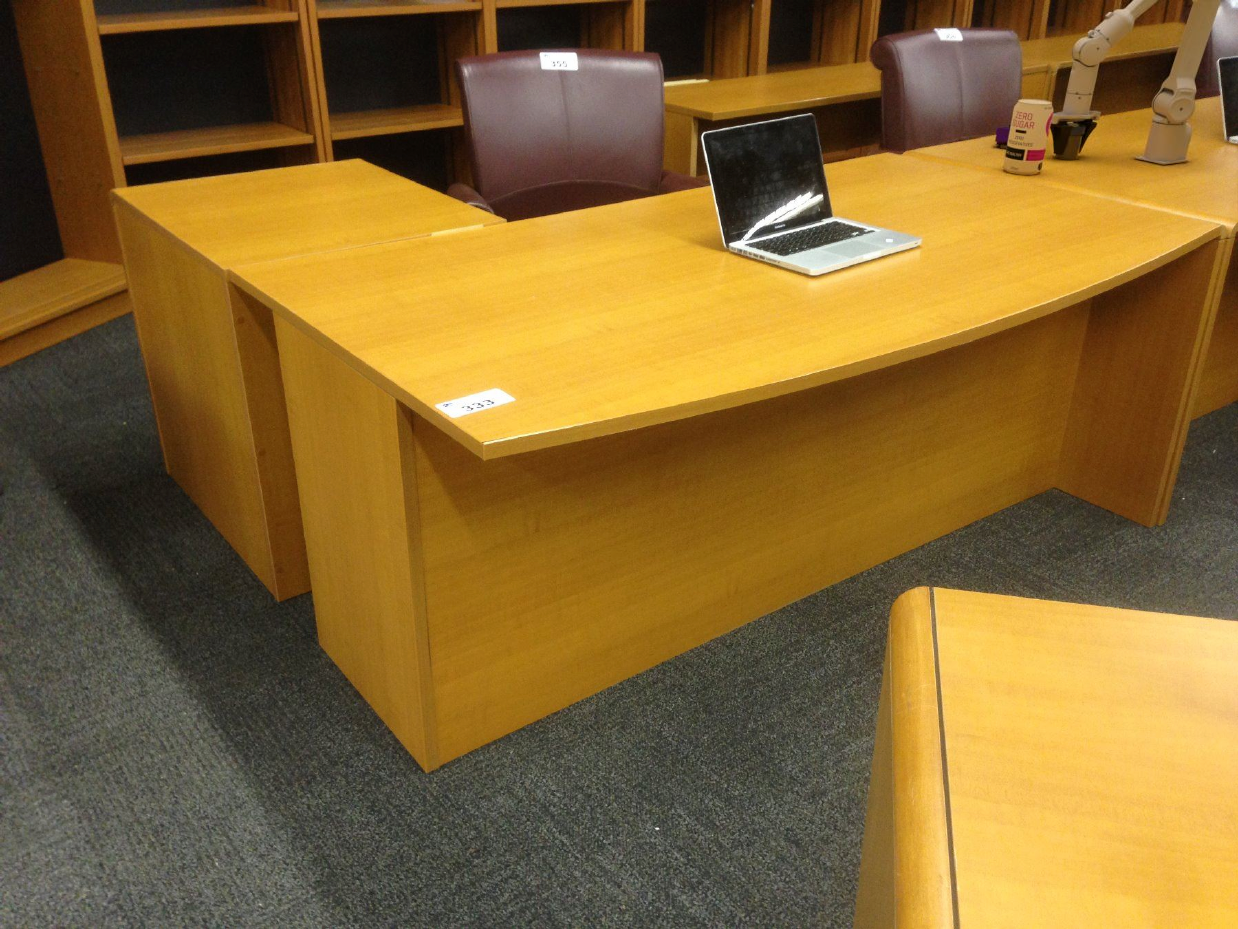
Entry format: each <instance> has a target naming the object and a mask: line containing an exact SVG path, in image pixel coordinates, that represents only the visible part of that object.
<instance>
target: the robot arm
mask: <svg viewBox="0 0 1238 929" xmlns="http://www.w3.org/2000/svg"><path fill="white" fill-rule="evenodd" d="M1191 1H1192V5H1191V7H1190V11H1189V14H1188V18H1187V21H1186V24H1185V27H1184V30H1183V33H1182V36H1181V39H1180V42H1179V46H1178V48H1177V51H1176V54H1175V57H1174V61H1173V64H1172V67H1171V69H1170V73H1169V76H1167V78H1166V79H1165V80H1164V81H1163V82H1162V84H1161V86H1160V89H1159V91H1158V92H1157V94H1155V96H1154V97H1153V99H1152V101H1151V109H1152V112H1153V113H1154V115H1153V117H1152V120H1151V123H1150V128H1149V131H1148V136H1147V140H1146V144H1145V148H1144V152H1143V155H1135V157H1134V159H1136V160H1140V161H1145V162H1148V163H1154V164H1158V165H1163V166H1164V165H1171V164H1179V163H1186V162H1189V160H1190V159H1188V158H1187V154H1188V151H1189V147H1190V143H1191V140H1192V135H1193V130H1192V126H1191V124H1190V123H1189V122H1187V121H1188V120H1189V119H1190V118H1191V117H1192V116H1193V114H1194V113H1195V111H1196V101H1195V98H1196V94H1197V85H1196V82H1195V79H1196V76H1197V73H1198V70H1199V68H1200V64H1201V61H1202V59H1203V55H1204V52H1205V50H1206V47H1207V43H1208V41H1209V38H1210V34H1211V32H1212V29H1213V26H1214V23H1215V20H1216V18H1217V14H1218V10H1219V8H1220V5H1221V2H1222V0H1191ZM1157 2H1159V0H1132V1H1131V2H1130V3H1128V5H1127V6H1126V7H1124V8H1122V9H1121V8H1120V9H1114V11H1113V12H1112V11H1109V12H1108V13H1106V14H1105V19H1104V20H1102V22H1100V23H1099V24H1098V25H1097V26H1096V27H1095V28H1094V29H1090V30H1089V31H1088V32H1087V35H1088V36H1085V37H1082V38H1079V39H1078V40H1077V41H1076V42H1075V44H1074V45H1073V48H1071V49H1070V55H1071V58H1072V60H1073V61H1072V66H1071V71H1070V74H1069V77H1068V78H1069V79H1068V84H1067V87H1066V93H1065V98H1064V102H1063V108H1062V111H1059V112H1053V116H1052V121H1051V126H1050V132H1051V137H1052V145H1053V147H1052V148H1053V154H1055V155H1056V154H1058V155H1062V154H1063V152H1064V148H1065V145H1066V141H1067V138H1068V136H1069V134H1070V132H1071V130H1072V129H1073V126H1070V125H1068V124H1067V123H1078V124H1083V125H1086V128H1085V133H1084V134H1082V140H1081V145H1080V149H1079V154H1080V153H1081V152H1082V150H1083V148H1084V145H1085V144H1086V142H1087V140H1088V139H1089V137H1090V135H1091V134H1092V133H1093V131H1094V130H1095V129H1096V128H1097V126H1098V122H1097V121H1100V119H1101V118H1100V117H1101V114H1102V112H1101V111H1098V110H1091V105H1092V100H1093V95H1094V91H1095V86H1096V82H1097V78H1098V73H1099V72H1098V71H1099V66H1100V64H1101V62H1104V60H1105V59H1106V57H1107V53H1108V51H1109V50H1111V49H1112V48H1113V47H1114V46H1116V44H1118V43H1119V42H1120V41H1121V40H1123V38H1125V36H1127V35H1128V34H1129V33H1130V32H1131V31H1132V30H1133V29H1134V26H1135V21H1136V20H1137V19H1138V18H1139V17H1140V16H1141V15H1142V14H1143V13H1145V12H1146V11H1147V10H1149V9H1150V8H1151V7H1152V6H1154V4H1156V3H1157Z"/></svg>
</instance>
